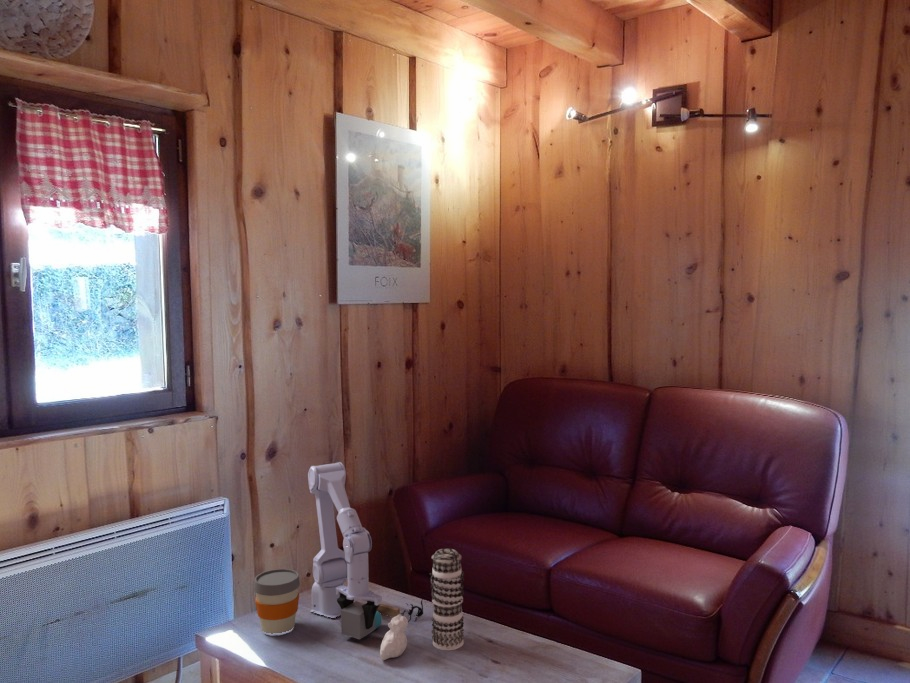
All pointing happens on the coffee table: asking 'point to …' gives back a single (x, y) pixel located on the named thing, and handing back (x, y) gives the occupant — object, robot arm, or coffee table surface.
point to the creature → (420, 612)
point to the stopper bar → (388, 610)
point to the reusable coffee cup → (277, 599)
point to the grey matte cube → (354, 621)
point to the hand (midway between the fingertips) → (359, 624)
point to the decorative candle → (447, 599)
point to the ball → (377, 619)
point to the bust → (394, 638)
